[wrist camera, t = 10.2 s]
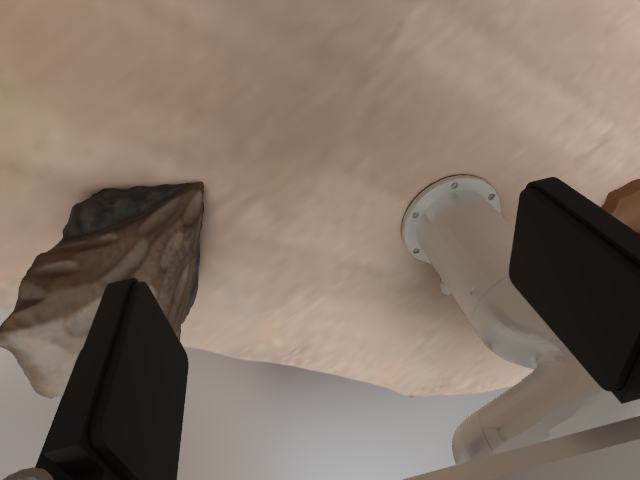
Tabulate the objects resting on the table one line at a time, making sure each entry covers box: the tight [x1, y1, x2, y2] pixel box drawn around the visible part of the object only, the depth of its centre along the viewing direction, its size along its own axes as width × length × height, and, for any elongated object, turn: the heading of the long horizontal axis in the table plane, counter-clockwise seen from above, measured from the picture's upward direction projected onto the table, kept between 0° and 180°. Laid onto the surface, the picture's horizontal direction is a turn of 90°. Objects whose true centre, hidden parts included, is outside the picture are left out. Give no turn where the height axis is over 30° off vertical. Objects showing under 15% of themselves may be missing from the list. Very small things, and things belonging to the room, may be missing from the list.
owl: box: [0, 182, 204, 399], centre depth 36 cm, size 13×13×20 cm
